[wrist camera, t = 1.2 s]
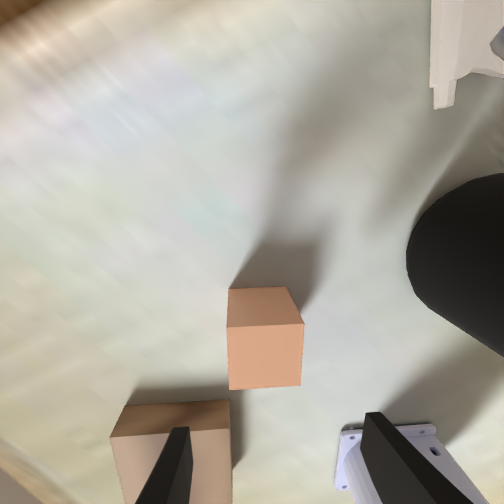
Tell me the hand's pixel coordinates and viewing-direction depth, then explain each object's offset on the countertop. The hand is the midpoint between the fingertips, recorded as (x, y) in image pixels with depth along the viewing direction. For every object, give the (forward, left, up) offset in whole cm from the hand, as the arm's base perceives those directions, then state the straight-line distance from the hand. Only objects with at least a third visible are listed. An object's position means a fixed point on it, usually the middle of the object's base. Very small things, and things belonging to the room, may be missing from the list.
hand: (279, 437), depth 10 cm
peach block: (0, 0, -10) cm, 10 cm away
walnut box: (+7, +13, -10) cm, 18 cm away
